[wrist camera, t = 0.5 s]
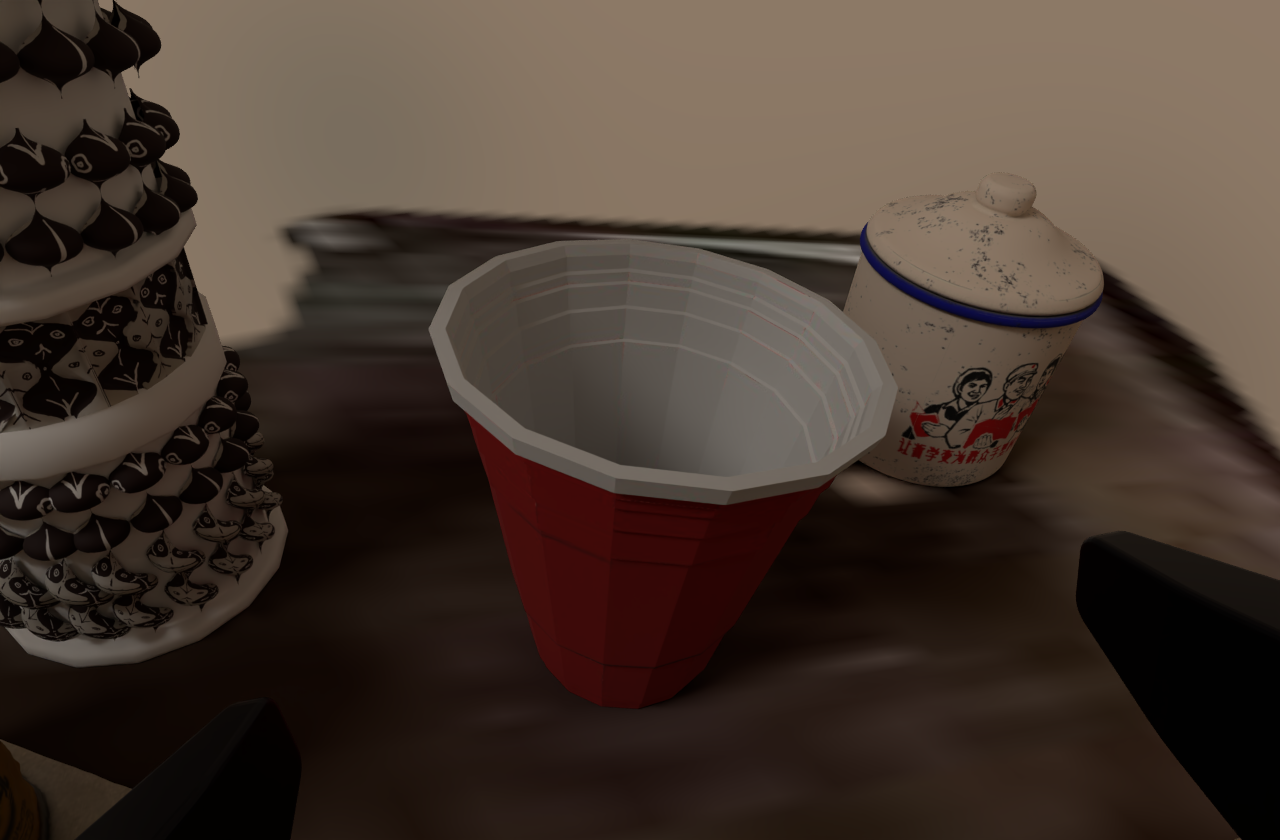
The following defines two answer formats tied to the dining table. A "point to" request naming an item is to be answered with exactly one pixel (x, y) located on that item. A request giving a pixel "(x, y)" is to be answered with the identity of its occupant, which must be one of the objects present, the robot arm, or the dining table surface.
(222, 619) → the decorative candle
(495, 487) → the plastic cup
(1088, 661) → the dining table surface
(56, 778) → the condiment
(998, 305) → the teacup with lid
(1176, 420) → the dining table surface
